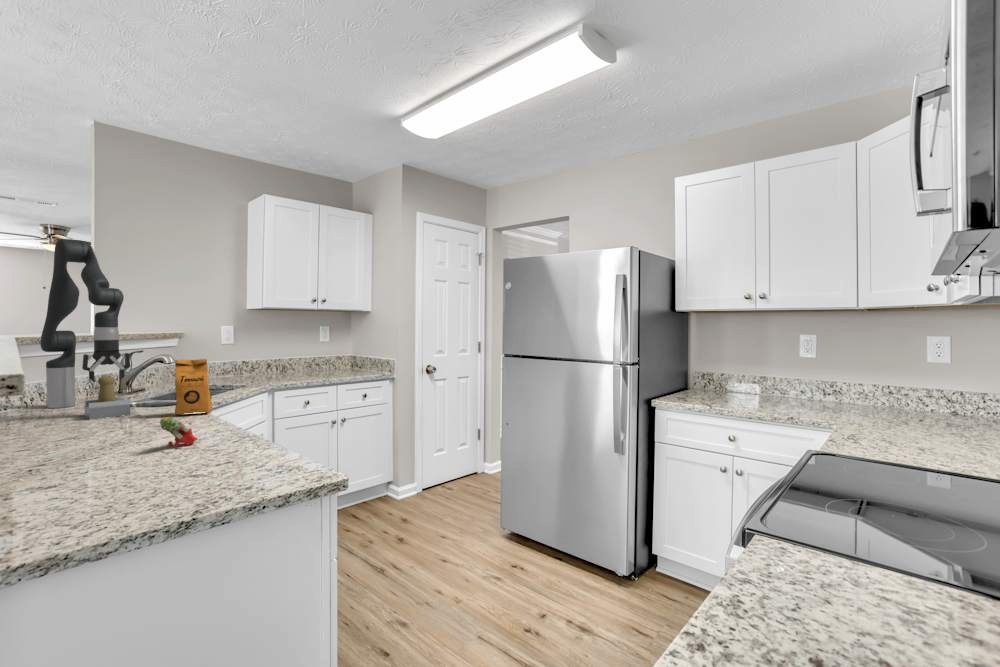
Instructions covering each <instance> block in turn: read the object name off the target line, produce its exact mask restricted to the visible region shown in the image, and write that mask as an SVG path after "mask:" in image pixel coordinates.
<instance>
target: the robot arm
mask: <svg viewBox="0 0 1000 667" xmlns="http://www.w3.org/2000/svg"><path fill="white" fill-rule="evenodd" d="M54 245H55V246H54V253H53V254H54V255H53V270H52V271H53V272H52V278H51V284H50V289H49V294H48V302H47V310H46V316H45V321H44V325H43V327H42V332H41V336H40V348H41V350H42V352H46V353H57V352H60V353H61V352H63V353H62V355H60V356H58V357H56V358H54V359H53V358H52V359H49V360H47V361H46V362H45V375H46V377H45V378H46V383H45V385H46V386H45V388H46V408H47V409H59V408H61V409H62V408H70V407H75V406H76V350H77V349H76V348H77V346H76V345H77V337H76V333H75V332H74V331H72V330H57V328H58V327H59V325H60V324H61V323H62V322H63V321H64V319H66V318H67V317H68V316H70V315H71V314H72V313H73V312H74V311H75V310H76V309H77V307H78V304H79V298H80V290H79V286H77V285H76V283H75V282H74V280H73V279H72V277H71V276H70V274H69V271H68V266H67V265H68V263H78V264H79V263H81V264H82V263H83V264H84V265H85V266H83V268H82V269H81V273H80V278H81V280H82V282H83V284H84V285H85V287H86V289H87V296H88V301H89V303H90V304H93V305H94V306H98V307H99V306H101V307H102V306H104V307H109V308H107V310H104V311H98V312H95V315H94V331H93V354H83V356H82V370H83V371H88V379H89V381H91V382H95V369H97V367H99V366H100V365H101V366H102V365H103V366H105V365H109V366H110V365H115V366H116V367H118V369H119V371H118V380H123V379H124V378H125V370H126V369H130V368H131V361H130V360H131V359H130V353H128V352H125V353H120V331H119V315H120V311H121V308H122V304H123V302H124V293H123V292H122V290H121V289H119V288H115V287H113V288H112V287H110V282H109V279H107V277H106V276H105V274H104V273H103V272H102V270H101V267H100V265H99V261H98V259H97V256H96V254H95V251H94V248H93V247H92V245H91V244H90V243H89V242H87V241H84V240H78V239H70V238H60V239H58V240H56V243H55V244H54ZM121 357H122V359H124V365H123V364H121V362H119V359H120V358H121ZM91 359H93V360H94V362H93V363H92V365H90V367H89V366H88V363H89V361H90V360H91Z"/></svg>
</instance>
